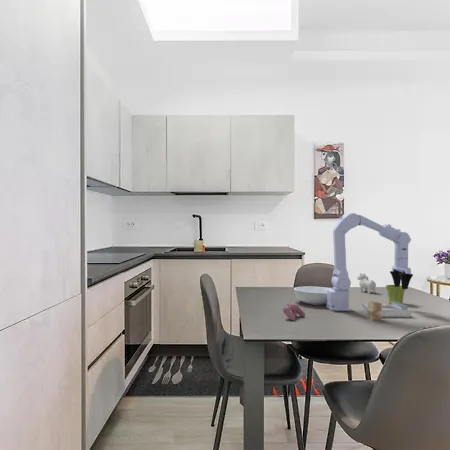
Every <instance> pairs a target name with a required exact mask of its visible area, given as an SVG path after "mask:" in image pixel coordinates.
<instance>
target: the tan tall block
mask: <svg viewBox="0 0 450 450" xmlns="http://www.w3.org/2000/svg"><path fill="white" fill-rule="evenodd" d="M367 304H368V314H367V319H369V320H370V321H372V322H373V321H374V322H375V321H378V322H379V321H380V322H381V321H382V320H383V319H382V318H383V317H382V304H383V303H382V302H380V301H377V300H376V301H375V300H374V301H372V300H371V301H367Z"/></svg>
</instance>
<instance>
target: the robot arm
mask: <svg viewBox="0 0 450 450" xmlns="http://www.w3.org/2000/svg"><path fill="white" fill-rule="evenodd" d="M357 226H364V227H366V228H368V229H371V230H373V231H376V232H378V235H379V236H381V238H382V237H383V238H384V239H387V240H389V241H391V242H393V243H394V255H393V256H394V257H393V258H394V260H393V262H394V263H393V265H392V266H391V271H390V270H389V273H390V275H391V277H392V281H393V285H394V286H399V287H400V285H402V289H405V290H408V288H409V284H410V283H411V279H412V278H413V276H414V274H413V273H412V269H411V267H409V244H410V243H411V240H412V238H411V235H410V234H409V233H408V232H405V231H402V230H401V229H400V228H395V227H392V225H391V224H382V225H381V224H380V223H378V222H375V221H373V220H372V219H369V218H367V217H365V216H363V215H361V214H357V213H354V212H351V213H344V214H342V215H341V216H340V217H339V218H338V220H337V222H336V224H335V225H334V227H333V230H332V231H333V233H332V236H333V238H332V239H333V257H334V258H333V259H334V260H333V261H334V263H333V265H334V269H333V272H332V276H331V279H330V280H331V284H332V286H333V287H332V288H331V289H332V290H328V291H327V303H326V309H328V310H330V311H334V312H335V311H337V312H339V311H341V312H342V311H344V312H345V311H347V312H352V311H353V310H352V308H350V303H349V302H350V288H351V284H352V282H351V279H350V277H349V273H348V270H347V253H346V252H347V251H346V234H347V233H349V231H351V230H352V229H354V228H357Z"/></svg>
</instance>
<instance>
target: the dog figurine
mask: <svg viewBox="0 0 450 450" xmlns="http://www.w3.org/2000/svg"><path fill="white" fill-rule="evenodd" d="M356 279H357V280H358V281H359V282H358V283H359V284H358V285H359V287H360V290H359V293H363V290H364V292H365V291H367V294H368V293H370V294H371V292H372V294H376V286H377V283H376V282H375V281H374V280H373V279H369V276H367V275H366V273H359V275H357V277H356Z"/></svg>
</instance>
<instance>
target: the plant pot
mask: <svg viewBox="0 0 450 450" xmlns="http://www.w3.org/2000/svg"><path fill="white" fill-rule="evenodd" d="M385 288H386V291H387V297H388V299H387V300H388V304H391V301H397V302H399V303H402V304H403V302H404V295H405V291H406V289H402V284H400V287H399V286H394V284H386V285H385Z"/></svg>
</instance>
